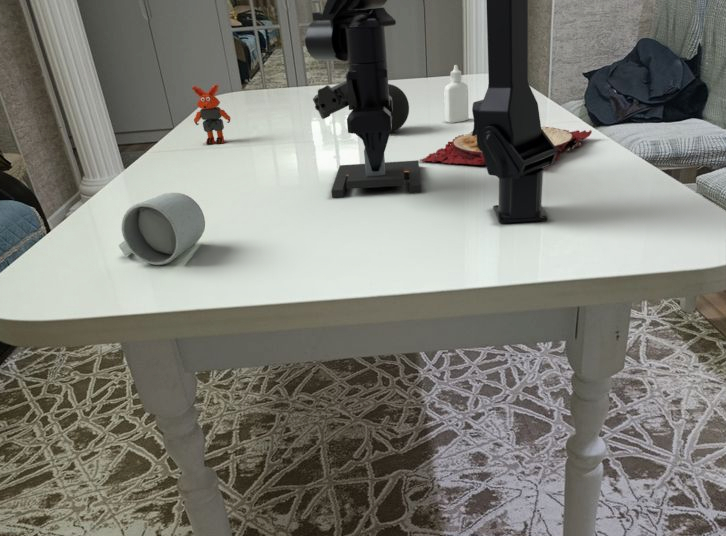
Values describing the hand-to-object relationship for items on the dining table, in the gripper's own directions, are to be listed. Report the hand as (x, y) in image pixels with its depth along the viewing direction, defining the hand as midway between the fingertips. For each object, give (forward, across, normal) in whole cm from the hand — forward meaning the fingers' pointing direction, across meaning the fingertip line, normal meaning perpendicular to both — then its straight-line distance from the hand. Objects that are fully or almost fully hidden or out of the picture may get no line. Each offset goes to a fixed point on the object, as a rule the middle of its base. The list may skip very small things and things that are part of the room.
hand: (376, 168), depth 101 cm
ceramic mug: (+3, +25, -27) cm, 37 cm away
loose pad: (+2, 0, 0) cm, 2 cm away
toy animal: (+3, -45, -38) cm, 59 cm away
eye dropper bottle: (+3, -53, +17) cm, 56 cm away
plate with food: (+3, -20, +24) cm, 31 cm away
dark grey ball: (+3, -45, +1) cm, 45 cm away
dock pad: (+3, -4, 0) cm, 5 cm away
